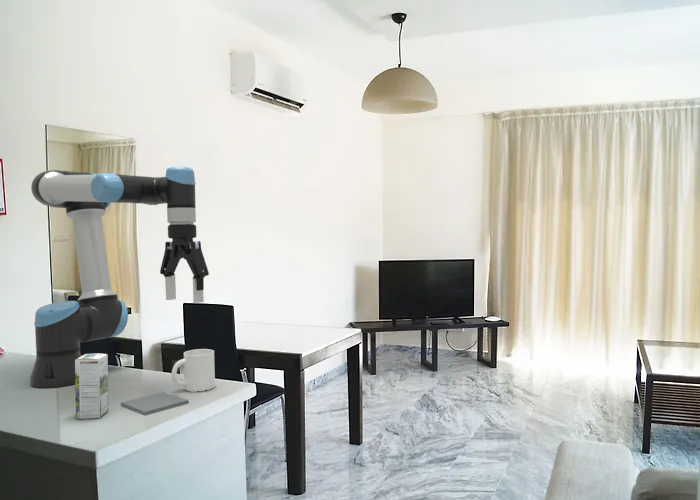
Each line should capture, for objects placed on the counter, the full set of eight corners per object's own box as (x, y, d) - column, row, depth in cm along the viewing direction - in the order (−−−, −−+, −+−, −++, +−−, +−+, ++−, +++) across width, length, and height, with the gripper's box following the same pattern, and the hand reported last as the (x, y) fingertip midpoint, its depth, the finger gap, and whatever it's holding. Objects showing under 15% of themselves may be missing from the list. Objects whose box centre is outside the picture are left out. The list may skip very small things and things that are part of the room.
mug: (177, 397, 149) (176, 358, 149) (167, 390, 156) (166, 353, 155) (219, 388, 156) (218, 352, 156) (208, 382, 163) (207, 347, 163)
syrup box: (84, 412, 137) (83, 353, 137) (109, 411, 138) (107, 352, 138) (75, 419, 132) (73, 358, 131) (101, 418, 132) (99, 357, 132)
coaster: (120, 405, 142) (120, 402, 142) (163, 394, 151) (163, 391, 151) (145, 415, 134) (144, 411, 134) (188, 403, 143) (188, 399, 143)
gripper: (220, 222, 148) (222, 302, 148) (169, 225, 164) (172, 297, 165) (196, 222, 142) (198, 305, 143) (146, 225, 159) (148, 299, 159)
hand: (184, 301), depth 154 cm, fingers open, 13 cm apart
